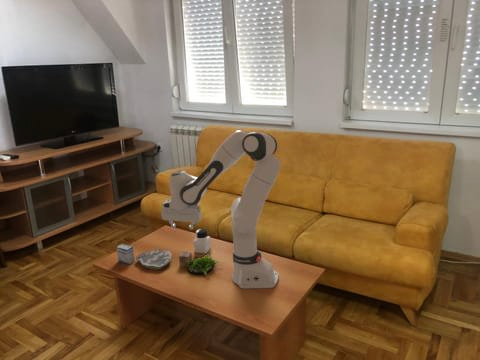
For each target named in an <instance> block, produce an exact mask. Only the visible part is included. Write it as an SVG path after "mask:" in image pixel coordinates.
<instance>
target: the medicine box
mask: <svg viewBox="0 0 480 360" xmlns="http://www.w3.org/2000/svg"><path fill="white" fill-rule="evenodd" d="M116 255H117V260H118V262H119V263H122V264H127V265H131V264H132V263H134V262H135V260H136V258H135V252H134V246H132V245H127V244H123V243H121V244H119V245H118V246H116Z"/></svg>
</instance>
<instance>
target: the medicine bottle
mask: <svg viewBox="0 0 480 360" xmlns="http://www.w3.org/2000/svg"><path fill="white" fill-rule="evenodd" d="M207 231H208V230H207V229H205V228H201V229H200V228H199V229H197V230H196V231H195V239H194V240H193V249H194V253H199V254H207V253H208V252H209V251H210V249H211V248H212V245H211V236H209V235H208V232H207Z"/></svg>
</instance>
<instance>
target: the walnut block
mask: <svg viewBox="0 0 480 360" xmlns="http://www.w3.org/2000/svg"><path fill="white" fill-rule="evenodd" d="M178 260H179V267H184V268H185V267H186V268H189V267H188V264H189V263H190V262H191V261H192V262H193V256H192V251H182V252H181V253H180V254H179V255H178Z"/></svg>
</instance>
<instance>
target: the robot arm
mask: <svg viewBox="0 0 480 360" xmlns="http://www.w3.org/2000/svg"><path fill="white" fill-rule="evenodd" d="M277 150H278V142H277V140H276V138H275V137H274V136H273V135H271V134H269V133H268V134H267V133H265V132H258V131H252V132H249V133H247V132H246V131H244V130H241V129H239V130H236V131H234V132H232V133H231V134H230V135H229V136H228V137H226V139H224V140H223V141H222V142H221V144H220V145H219V146H218V147H217V148H216V151H215V152H214V153H213V155H212V157H211V159H210V161H209V163H208V164H207V166H206V167H205V168H204V170H203V171H202V172H201V173H200V174H199V176H196V175H195V176H194V175H192V174H190V173H188V172H187V171H185V170H177V171H174V172H173V173H171V174H170V175H169V192H170V198H168V199H167V198H166V200H165V201H163V203H162V204H161V207H162V208H161V219H162V220H163V221H168V223H169V225H170V226H171V229H176V223H175V221H176V222H188V223H189V222H190V224H189V225H188V226H189V227H188V228H189V230H194V224H195V223H199V222H200V221H201V220H202V212H201V206H200V205H199V202H200V201H201V199H202V197H203V196H204V195H205V194H206V192H207V190H208V187H209V186H210V185H211V184H212V183H213V182H214V181H215V180H216V179H217V178H218V177H219V176H220V175H222V174H223V173H225V172H226V171H228V169H230V168H232V167H233V166H234V165H235V164H236V163H237V162H238V161H240V159H241V158H242V157H243V156H244V155H245V154H246V155H247V156H249V157H250V159H251V160H252V161H254V162H255V165H254V167H253V170H252V171H251V173H250V175H249V177H248V179H247V181H246V183H245V185H244V187H243V191H242V193H241V196H238V197H236V198H235V199H234V200H233V202H232V203H231V207H230V208H231V209H230V213H231V228H232V242H233V243H232V245H233V252H232V261H233V262H232V263H233V271H232V276H231V281H232V282H233V283H234V284H236V285H238V287H239V288H240V289H272V288H274V287H275V286H276V285H277V284H278V281H279V273H278V272H277V271H276V270H274V268H273V265H272V263H270V262H269V261H268V260H265V259H264V258H263V257H262V251H259V250H258V246H257V245H258V243H257V238H258V237H257V229H256V227H257V224H258V220H259V219H260V216H261V213H262V210H263V208H264V206H265V205H264V204H265V202H266V199H267V198H268V196H269V193H270V192H271V189H272V187H273V186H274V184H275V182H276V180H277V178H278V175H279V172H280V170H281V161H280V160H279V158H278V157H276V156H274V154H275V153H276V151H277Z"/></svg>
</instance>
